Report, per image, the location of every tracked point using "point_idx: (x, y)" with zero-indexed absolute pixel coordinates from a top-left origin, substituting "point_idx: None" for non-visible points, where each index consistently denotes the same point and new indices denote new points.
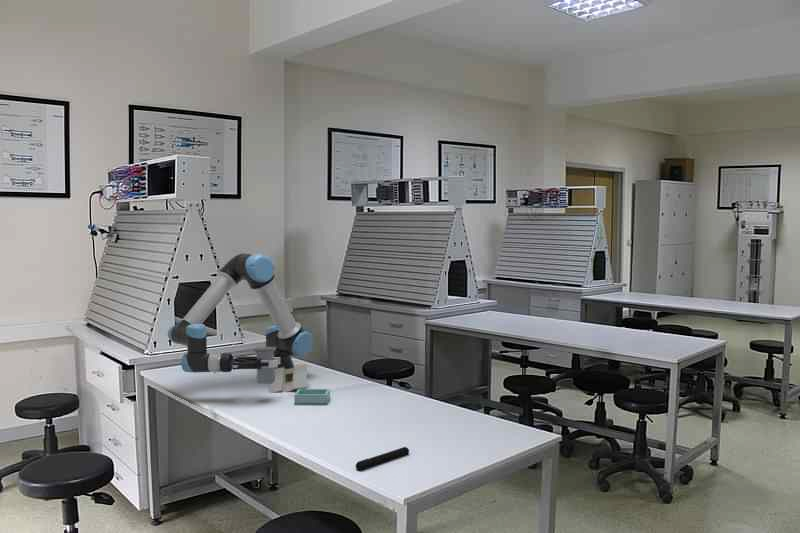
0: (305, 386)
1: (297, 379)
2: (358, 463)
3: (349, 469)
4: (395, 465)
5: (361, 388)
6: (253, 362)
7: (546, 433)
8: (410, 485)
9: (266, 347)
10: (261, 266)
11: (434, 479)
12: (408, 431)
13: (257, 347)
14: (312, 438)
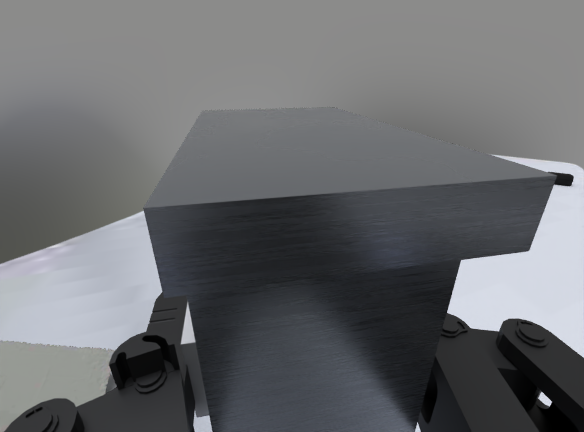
0: (109, 354)
1: (5, 398)
2: (572, 176)
3: (580, 189)
4: None
5: (123, 246)
6: (567, 379)
7: None
8: (543, 164)
9: (253, 126)
10: None
11: (509, 159)
12: None
13: (260, 178)
14: (543, 235)
